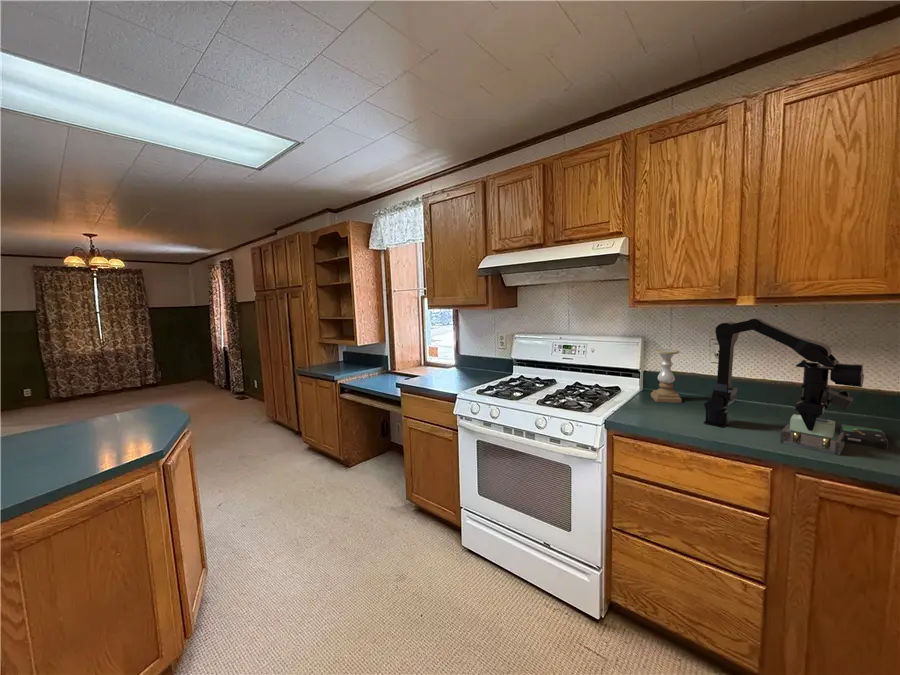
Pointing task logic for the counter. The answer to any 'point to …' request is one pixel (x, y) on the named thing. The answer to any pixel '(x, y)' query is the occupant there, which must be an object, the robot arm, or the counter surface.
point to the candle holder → (666, 379)
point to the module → (820, 427)
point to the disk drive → (864, 436)
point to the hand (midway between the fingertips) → (812, 428)
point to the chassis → (812, 441)
